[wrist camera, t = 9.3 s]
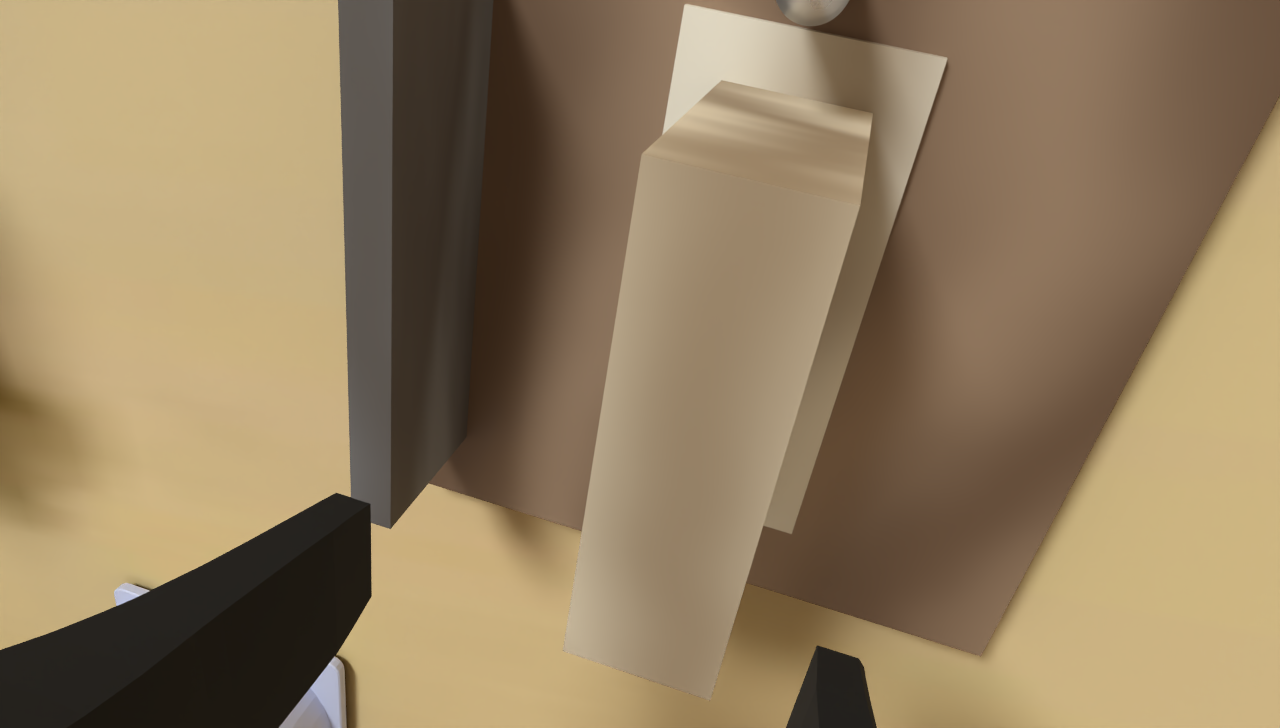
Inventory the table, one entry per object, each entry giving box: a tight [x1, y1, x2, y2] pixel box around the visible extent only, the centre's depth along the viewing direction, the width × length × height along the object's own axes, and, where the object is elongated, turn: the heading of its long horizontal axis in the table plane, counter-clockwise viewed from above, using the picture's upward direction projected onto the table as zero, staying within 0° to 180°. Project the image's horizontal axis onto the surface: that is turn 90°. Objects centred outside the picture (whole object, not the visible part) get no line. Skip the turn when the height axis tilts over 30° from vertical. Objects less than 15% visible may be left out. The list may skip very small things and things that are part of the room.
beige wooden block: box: [563, 80, 873, 701], centre depth 16 cm, size 3×10×6 cm, turn 171°
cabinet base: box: [338, 0, 1280, 656], centre depth 17 cm, size 16×16×5 cm
